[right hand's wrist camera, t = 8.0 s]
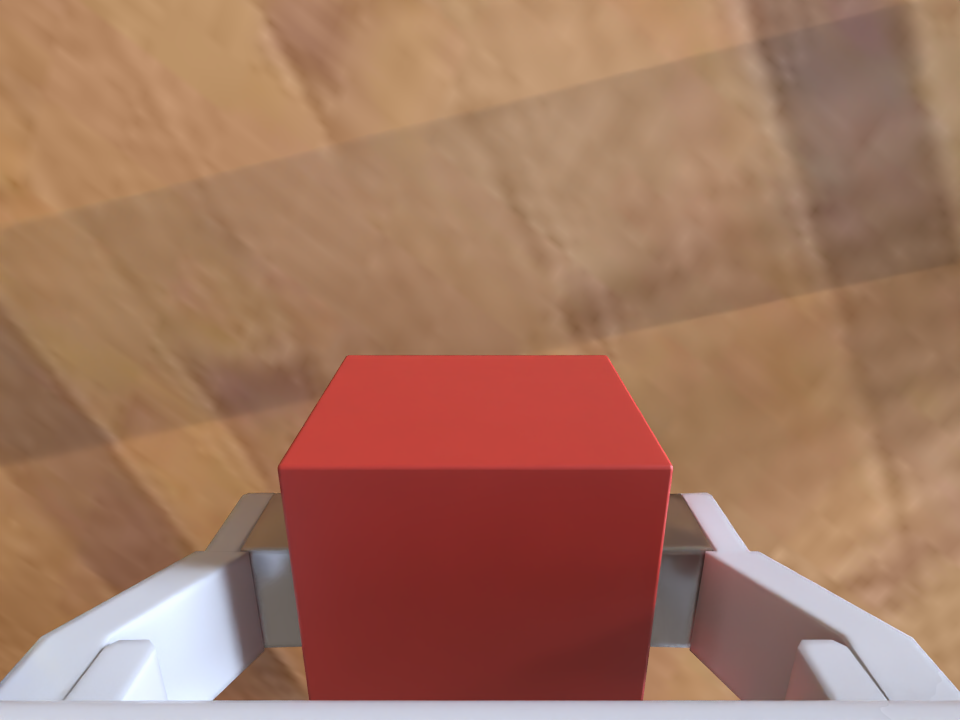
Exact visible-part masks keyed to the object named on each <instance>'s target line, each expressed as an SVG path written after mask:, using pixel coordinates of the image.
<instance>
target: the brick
mask: <svg viewBox="0 0 960 720" xmlns="http://www.w3.org/2000/svg"><path fill="white" fill-rule="evenodd" d="M672 473H673V466H672V464H671V462H670V461H669V459H668V457H667V456H666V454H665V452H664V451H663V449H662V447H661V446H660V444H659V442H658V441H657V439H656V437H655V436H654V434H653V432H652V430H651V429H650V427H649V425H648V424H647V422H646V420H645V419H644V417H643V415H642V414H641V412H640V410H639V409H638V407H637V405H636V404H635V402H634V400H633V399H632V397H631V395H630V394H629V392H628V390H627V389H626V387H625V385H624V384H623V382H622V380H621V378H620V377H619V375H618V373H617V372H616V370H615V368H614V367H613V365H612V363H611V362H610V360H609V358H608V357H607V356H605V355H348V356H346V358H345V359H344V361H343V362H342V364H341V366H340V367H339V369H338V370H337V372H336V374H335V375H334V377H333V379H332V380H331V382H330V383H329V385H328V387H327V388H326V390H325V391H324V393H323V395H322V396H321V398H320V399H319V401H318V403H317V404H316V406H315V407H314V409H313V411H312V412H311V414H310V416H309V417H308V419H307V420H306V422H305V424H304V425H303V427H302V428H301V430H300V432H299V433H298V435H297V436H296V438H295V440H294V441H293V443H292V444H291V446H290V448H289V449H288V451H287V453H286V454H285V456H284V457H283V459H282V461H281V462H280V464H279V466H278V474H279V482H280V489H281V496H282V504H283V511H284V518H285V526H286V533H287V540H288V548H289V555H290V562H291V570H292V577H293V584H294V592H295V599H296V606H297V614H298V621H299V628H300V636H301V643H302V650H303V658H304V665H305V672H306V680H307V687H308V694H309V700H413V701H643V695H644V688H645V680H646V672H647V665H648V657H649V649H650V642H651V634H652V626H653V619H654V611H655V603H656V596H657V588H658V580H659V573H660V565H661V557H662V550H663V542H664V534H665V526H666V519H667V511H668V503H669V496H670V488H671V480H672Z"/></svg>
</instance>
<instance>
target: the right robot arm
mask: <svg viewBox="0 0 960 720" xmlns="http://www.w3.org/2000/svg"><path fill="white" fill-rule="evenodd" d="M268 647H302V643H301V636H300V628H299V621H298V614H297V606H296V599H295V592H294V584H293V577H292V570H291V562H290V555H289V548H288V540H287V533H286V526H285V518H284V511H283V504H282V496H281V493H277V494H275V493H248V494H245V495H243V496H242V497H241V498H240V500H239V501H238V503H237V504H236V506H235V507H234V509H233V510H232V512H231V513H230V515H229V516H228V517H227V519H226V520H225V522H224V523H223V525H222V526H221V528H220V529H219V531H218V532H217V534H216V535H215V537H214V538H213V540H212V541H211V542H210V544H209V545H208V547H207V548H206V550H205V551H195V552H193V553H192V554H190V555H188V556H186V557H184V558H183V559H181V560H179V561H177V562H175V563H174V564H172V565H170V566H168V567H166V568H165V569H163V570H161V571H159V572H157V573H156V574H154V575H152V576H150V577H148V578H146V579H145V580H143V581H141V582H139V583H137V584H136V585H134V586H132V587H130V588H128V589H127V590H125V591H123V592H121V593H119V594H118V595H116V596H114V597H112V598H110V599H109V600H107V601H105V602H103V603H101V604H100V605H98V606H96V607H94V608H92V609H91V610H89V611H87V612H85V613H83V614H81V615H80V616H78V617H76V618H74V619H72V620H71V621H69V622H67V623H65V624H63V625H62V626H60V627H58V628H56V629H54V630H53V631H51V632H49V633H47V634H45V635H44V636H42V637H40V639H39V640H38V641H37V642H36V643H35V644H34V645H33V646H32V647H31V649H30V650H29V651H28V652H27V653H26V654H25V655H24V656H23V658H22V659H21V660H20V661H19V662H18V663H17V664H16V665H15V667H14V668H13V669H12V670H11V671H10V672H9V673H8V674H7V675H6V677H5V678H4V679H3V680H2V681H1V682H0V720H960V692H959V690H958V689H957V688H956V687H955V686H954V685H953V684H952V682H951V681H950V680H949V679H948V678H947V677H946V676H945V674H944V673H943V672H942V671H941V670H940V669H939V668H938V666H937V665H936V664H935V663H934V662H933V661H932V660H931V658H930V657H929V656H928V655H927V654H926V653H925V651H924V650H923V649H922V648H921V647H920V646H919V645H918V643H917V642H916V641H915V640H914V639H913V638H912V637H910V636H908V635H907V634H905V633H903V632H901V631H899V630H898V629H896V628H894V627H892V626H890V625H889V624H887V623H885V622H883V621H882V620H880V619H878V618H876V617H874V616H873V615H871V614H869V613H867V612H866V611H864V610H862V609H860V608H858V607H857V606H855V605H853V604H851V603H849V602H848V601H846V600H844V599H842V598H841V597H839V596H837V595H835V594H833V593H832V592H830V591H828V590H826V589H825V588H823V587H821V586H819V585H817V584H816V583H814V582H812V581H810V580H808V579H807V578H805V577H803V576H801V575H800V574H798V573H796V572H794V571H792V570H791V569H789V568H787V567H785V566H784V565H782V564H780V563H778V562H776V561H775V560H773V559H771V558H769V557H767V556H766V555H764V554H762V553H760V552H759V551H749V550H748V549H747V547H746V546H745V544H744V543H743V541H742V540H741V538H740V537H739V535H738V534H737V532H736V531H735V529H734V528H733V526H732V525H731V523H730V522H729V520H728V519H727V517H726V516H725V514H724V513H723V511H722V510H721V508H720V507H719V506H718V504H717V503H716V501H715V500H714V498H713V497H712V495H710V494H708V493H707V492H706V493H679V494H670V496H669V503H668V511H667V519H666V526H665V534H664V542H663V550H662V557H661V565H660V573H659V580H658V588H657V596H656V603H655V611H654V619H653V626H652V634H651V642H650V647H686V648H690V651H691V652H692V653H693V654H694V655H695V656H696V657H697V658H698V659H699V660H700V661H701V662H702V663H703V664H704V665H705V666H707V667H708V668H709V669H710V670H711V671H712V672H713V673H714V674H715V675H716V676H717V677H718V678H719V679H720V680H721V681H722V682H723V683H724V684H725V685H726V686H727V687H728V688H729V689H730V690H731V691H732V692H733V693H734V694H735V695H736V696H738V697H739V698H740V699H741V700H742V701H413V700H253V701H212V700H213V699H214V698H215V697H217V696H218V695H219V694H220V693H221V692H222V691H223V690H224V689H225V688H226V687H227V686H228V685H229V684H230V683H231V682H232V681H233V680H234V679H235V678H236V677H237V676H238V675H240V674H241V673H242V672H243V671H244V670H245V669H246V668H247V667H248V666H249V665H250V664H251V663H252V662H253V661H254V660H255V659H256V658H257V657H258V656H259V655H260V654H261V653H263V652H264V648H268Z"/></svg>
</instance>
